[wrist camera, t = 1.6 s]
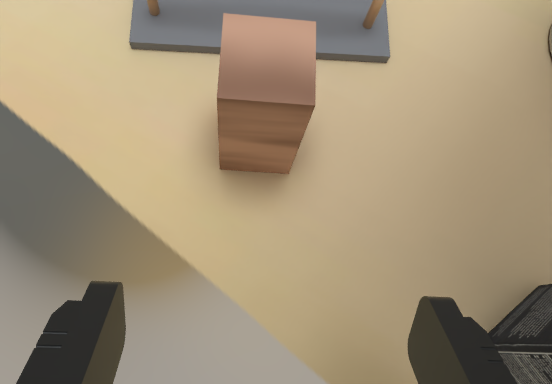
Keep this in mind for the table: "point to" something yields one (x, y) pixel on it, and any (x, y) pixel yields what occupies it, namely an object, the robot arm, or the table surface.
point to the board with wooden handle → (266, 3)
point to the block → (264, 91)
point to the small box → (528, 338)
